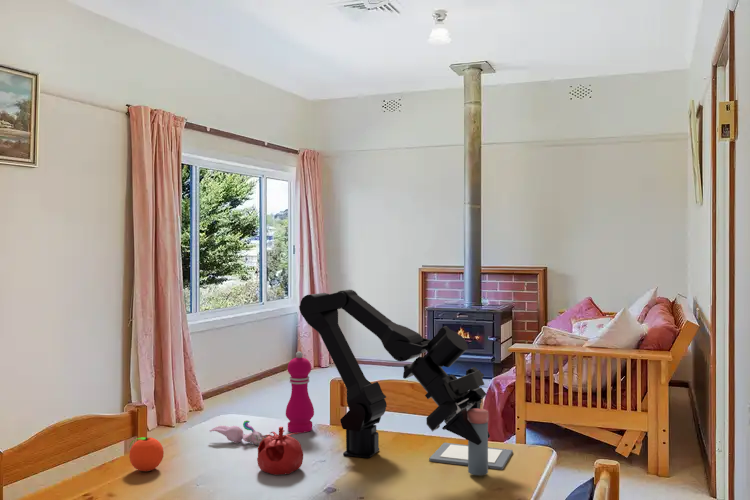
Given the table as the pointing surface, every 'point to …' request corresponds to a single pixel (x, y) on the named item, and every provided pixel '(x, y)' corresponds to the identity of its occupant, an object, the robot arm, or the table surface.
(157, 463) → the clementine
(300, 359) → the pepper mill
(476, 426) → the cylinder
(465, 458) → the writing board
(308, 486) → the table surface
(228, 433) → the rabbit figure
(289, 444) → the red round fruit
